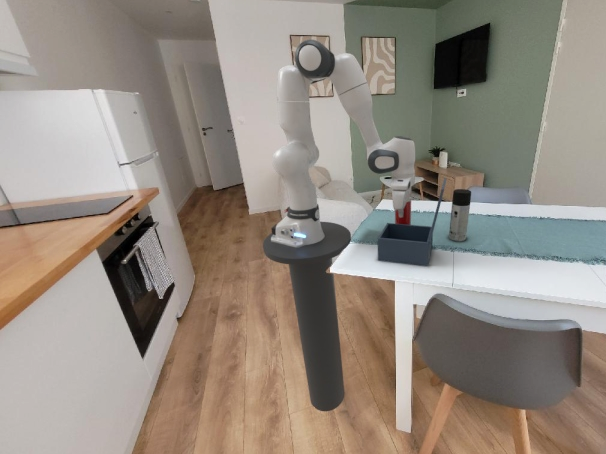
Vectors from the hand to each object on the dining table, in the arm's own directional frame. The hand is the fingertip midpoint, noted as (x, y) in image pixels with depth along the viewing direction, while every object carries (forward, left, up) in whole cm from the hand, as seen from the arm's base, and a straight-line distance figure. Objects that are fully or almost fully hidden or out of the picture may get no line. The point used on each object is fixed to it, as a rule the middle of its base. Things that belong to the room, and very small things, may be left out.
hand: (402, 213), depth 117 cm
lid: (+14, -14, +8) cm, 21 cm away
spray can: (+22, +4, -11) cm, 25 cm away
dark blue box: (+4, -14, -11) cm, 18 cm away
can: (0, 0, -6) cm, 6 cm away
